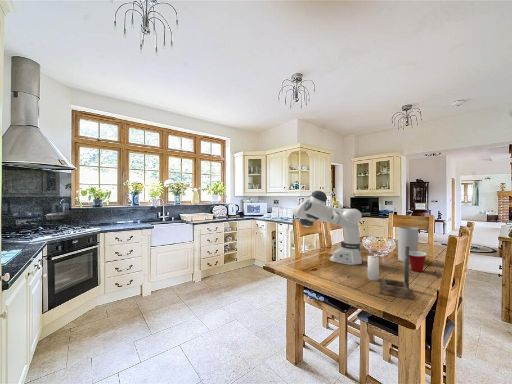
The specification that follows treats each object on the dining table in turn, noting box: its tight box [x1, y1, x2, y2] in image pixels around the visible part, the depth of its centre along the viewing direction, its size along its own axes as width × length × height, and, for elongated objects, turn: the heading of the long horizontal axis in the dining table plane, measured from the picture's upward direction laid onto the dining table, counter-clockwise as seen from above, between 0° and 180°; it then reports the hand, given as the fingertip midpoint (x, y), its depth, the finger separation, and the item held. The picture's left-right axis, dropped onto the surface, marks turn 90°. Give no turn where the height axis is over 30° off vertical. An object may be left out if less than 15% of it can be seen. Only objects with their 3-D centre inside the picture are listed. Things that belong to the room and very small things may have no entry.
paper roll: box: [367, 255, 380, 282], centre depth 138 cm, size 6×6×13 cm
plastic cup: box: [409, 250, 428, 273], centre depth 151 cm, size 11×11×12 cm
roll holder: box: [378, 246, 414, 301], centre depth 121 cm, size 14×14×23 cm
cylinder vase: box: [397, 226, 419, 264], centre depth 172 cm, size 12×12×25 cm
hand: (352, 223), depth 136 cm, fingers open, 8 cm apart
